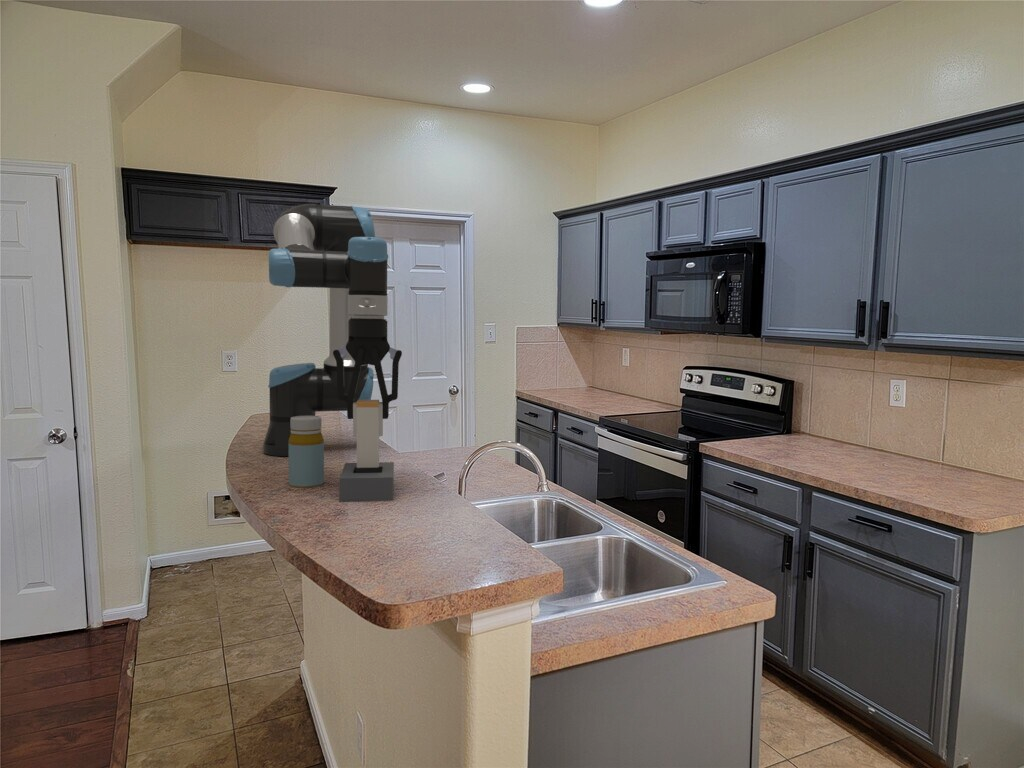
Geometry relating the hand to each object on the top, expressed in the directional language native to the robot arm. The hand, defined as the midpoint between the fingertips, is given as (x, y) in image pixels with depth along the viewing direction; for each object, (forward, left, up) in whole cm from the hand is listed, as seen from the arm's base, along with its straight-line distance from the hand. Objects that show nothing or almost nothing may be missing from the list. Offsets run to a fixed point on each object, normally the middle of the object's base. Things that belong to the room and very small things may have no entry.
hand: (368, 434), depth 134 cm
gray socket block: (0, 0, -13) cm, 13 cm away
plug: (0, 0, -6) cm, 6 cm away
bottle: (-8, -13, -13) cm, 20 cm away
